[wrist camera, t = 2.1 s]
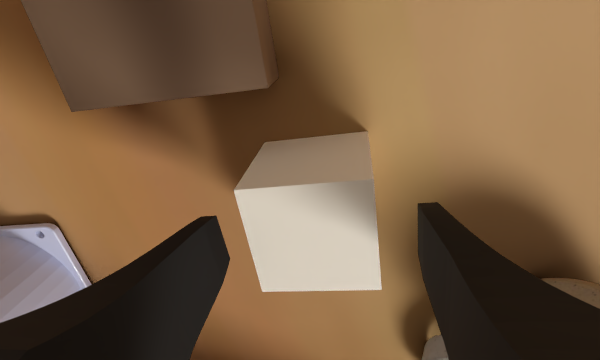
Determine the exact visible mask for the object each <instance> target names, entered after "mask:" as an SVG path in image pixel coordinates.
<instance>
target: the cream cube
mask: <svg viewBox="0 0 600 360" xmlns="http://www.w3.org/2000/svg"><path fill="white" fill-rule="evenodd" d="M234 193H235V196H236V200H237V203H238V207H239V211H240V214H241V218H242V221H243V225H244V228H245V232H246V235H247V239H248V242H249V246H250V250H251V253H252V257H253V260H254V264H255V267H256V271H257V274H258V278H259V281H260V285H261V289H262V292H275V291H338V290H382V288H381V274H380V260H379V246H378V232H377V218H376V204H375V190H374V177H373V169H372V161H371V153H370V145H369V137H368V131H365V132H356V133H346V134H337V135H327V136H318V137H309V138H299V139H290V140H281V141H271V142H265V143H264V144H263V146H262V147H261V149H260V150H259V152H258V153H257V155H256V157H255V158H254V160H253V161H252V163H251V164H250V166H249V167H248V169H247V170H246V172H245V174H244V175H243V177H242V178H241V180H240V181H239V183H238V184H237V186H236V187H235V189H234Z"/></svg>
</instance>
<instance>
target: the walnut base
mask: <svg viewBox="0 0 600 360" xmlns="http://www.w3.org/2000/svg"><path fill="white" fill-rule="evenodd" d="M21 2H22V4H23V6H24V9H25V11H26V13H27V15H28V17H29V20H30V22H31V24H32V26H33V28H34V31H35V33H36V35H37V37H38V39H39V42H40V44H41V46H42V48H43V50H44V52H45V55H46V57H47V59H48V61H49V63H50V66H51V68H52V70H53V72H54V74H55V77H56V79H57V81H58V83H59V85H60V88H61V90H62V92H63V94H64V96H65V98H66V101H67V103H68V105H69V107H70V109H71V112H75V111H84V110H92V109H100V108H108V107H116V106H125V105H133V104H141V103H149V102H157V101H166V100H174V99H182V98H190V97H198V96H207V95H215V94H223V93H231V92H239V91H248V90H256V89H264V88H269V87H270V86H271V85H272V84H273V83H274V82H275V81H276V80H277V79H278V78H279V74H278V68H277V62H276V56H275V50H274V44H273V37H272V31H271V25H270V19H269V13H268V7H267V1H266V0H21Z"/></svg>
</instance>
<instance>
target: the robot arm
mask: <svg viewBox="0 0 600 360" xmlns="http://www.w3.org/2000/svg"><path fill="white" fill-rule="evenodd" d="M418 255H419V260H420V266H421V271H422V276H423V280H424V283H425V286H426V289H427V292H428V296H429V299H430V302H431V305H432V308H433V311H434V314H435V317H436V320H437V323H438V326H439V329H440V332H441V335H442V338H443V341H444V344H445V348H446V351H447V355H448V359H449V360H600V308H597V307H595V306H593V305H591V304H588V303H586V302H584V301H582V300H580V299H578V298H576V297H574V296H572V295H570V294H568V293H566V292H564V291H562V290H560V289H558V288H556V287H554V286H552V285H550V284H548V283H546V282H545V281H543V280H541V279H539V278H537V277H536V276H534V275H532V274H530V273H529V272H527V271H526V270H524V269H522V268H521V267H519V266H517V265H516V264H514V263H513V262H511V261H509V260H508V259H506V258H505V257H503V256H502V255H500V254H499V253H498V252H496V251H495V250H494V249H492V248H491V247H489V246H488V245H487V244H485V243H484V242H483V241H481V240H480V239H479V238H478V237H476V236H475V235H474V234H473V233H471V232H470V231H469V230H468V229H467V228H465V227H464V226H463V225H462V224H461V223H460V222H459V221H457V220H456V219H455V218H454V217H453V216H452V215H451V214H450V213H449V212H448V211H446V210H445V209H444V208H443V207H442V206H441V205H440V204H439V203H437V202H435V203H418ZM229 261H230V257H229V254H228V251H227V248H226V244H225V241H224V238H223V235H222V232H221V229H220V226H219V223H218V220H217V217H216V216H204V217H200V218H198V219H196V220H195V221H193V222H191V223H190V224H188V225H187V226H185V227H184V228H182V229H181V230H179V231H178V232H176V233H175V234H174V235H172V236H171V237H169V238H168V239H166V240H165V241H163V242H162V243H160V244H159V245H158V246H156V247H155V248H153V249H152V250H150V251H148V252H147V253H145V254H144V255H142V256H141V257H139V258H138V259H136V260H134V261H133V262H131V263H130V264H128V265H127V266H125V267H123V268H121V269H120V270H118V271H116V272H115V273H113V274H111V275H109V276H107V277H105V278H104V279H102V280H100V281H98V282H96V283H94V284H91V283H90V281H89V279H88V278H87V276H86V274H85V272H84V271H83V269H82V267H81V265H80V264H79V262H78V260H77V259H76V257H75V255H74V253H73V252H72V250H71V248H70V246H69V245H68V243H67V241H66V240H65V238H64V236H63V234H62V233H61V231H60V229H59V228H58V227H57V226H56V225H54V224H51V223H42V224H27V225H12V226H0V360H190V357H191V354H192V351H193V348H194V346H195V343H196V341H197V339H198V336H199V334H200V332H201V330H202V328H203V325H204V323H205V321H206V319H207V317H208V315H209V313H210V310H211V308H212V306H213V304H214V302H215V300H216V297H217V295H218V293H219V291H220V289H221V286H222V284H223V281H224V278H225V275H226V272H227V268H228V264H229Z"/></svg>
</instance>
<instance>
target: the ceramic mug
mask: <svg viewBox="0 0 600 360" xmlns="http://www.w3.org/2000/svg"><path fill="white" fill-rule="evenodd" d="M541 280H543V281H545V282H546V283H548V284H550V285H552V286H554V287H556V288H558V289H560V290H562V291H564V292H566V293H568V294H570V295H572V296H574V297H576V298H578V299H580V300H582V301H584V302H586V303H588V304H591V305H593V306H595V307H597V308H600V285H599V284H596V283H592V282H589V281H585V280H578V279H570V278H543V279H541ZM422 360H449V359H448V355H447V351H446V348H445V344H444V341H443V338H442V335H438V336H437V335H436V336H433V337H432V338H430V339H429V340H428V341H427V342H426V344H425V347H424V352H423V356H422Z"/></svg>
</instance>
